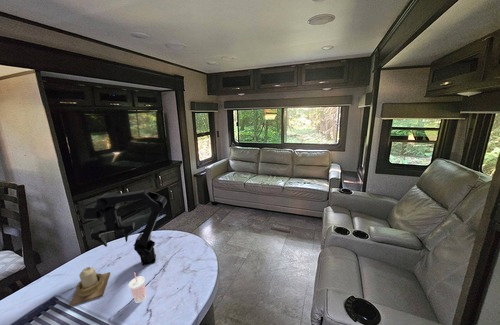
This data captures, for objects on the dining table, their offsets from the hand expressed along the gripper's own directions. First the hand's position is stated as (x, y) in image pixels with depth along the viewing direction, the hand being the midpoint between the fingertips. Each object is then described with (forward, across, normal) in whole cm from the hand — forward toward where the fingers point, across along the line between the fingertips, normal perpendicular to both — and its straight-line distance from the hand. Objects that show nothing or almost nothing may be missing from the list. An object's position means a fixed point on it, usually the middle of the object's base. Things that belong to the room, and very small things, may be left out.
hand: (116, 243), depth 106 cm
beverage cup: (+13, -12, +28) cm, 33 cm away
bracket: (+12, +10, +13) cm, 21 cm away
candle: (+12, +10, +13) cm, 20 cm away
